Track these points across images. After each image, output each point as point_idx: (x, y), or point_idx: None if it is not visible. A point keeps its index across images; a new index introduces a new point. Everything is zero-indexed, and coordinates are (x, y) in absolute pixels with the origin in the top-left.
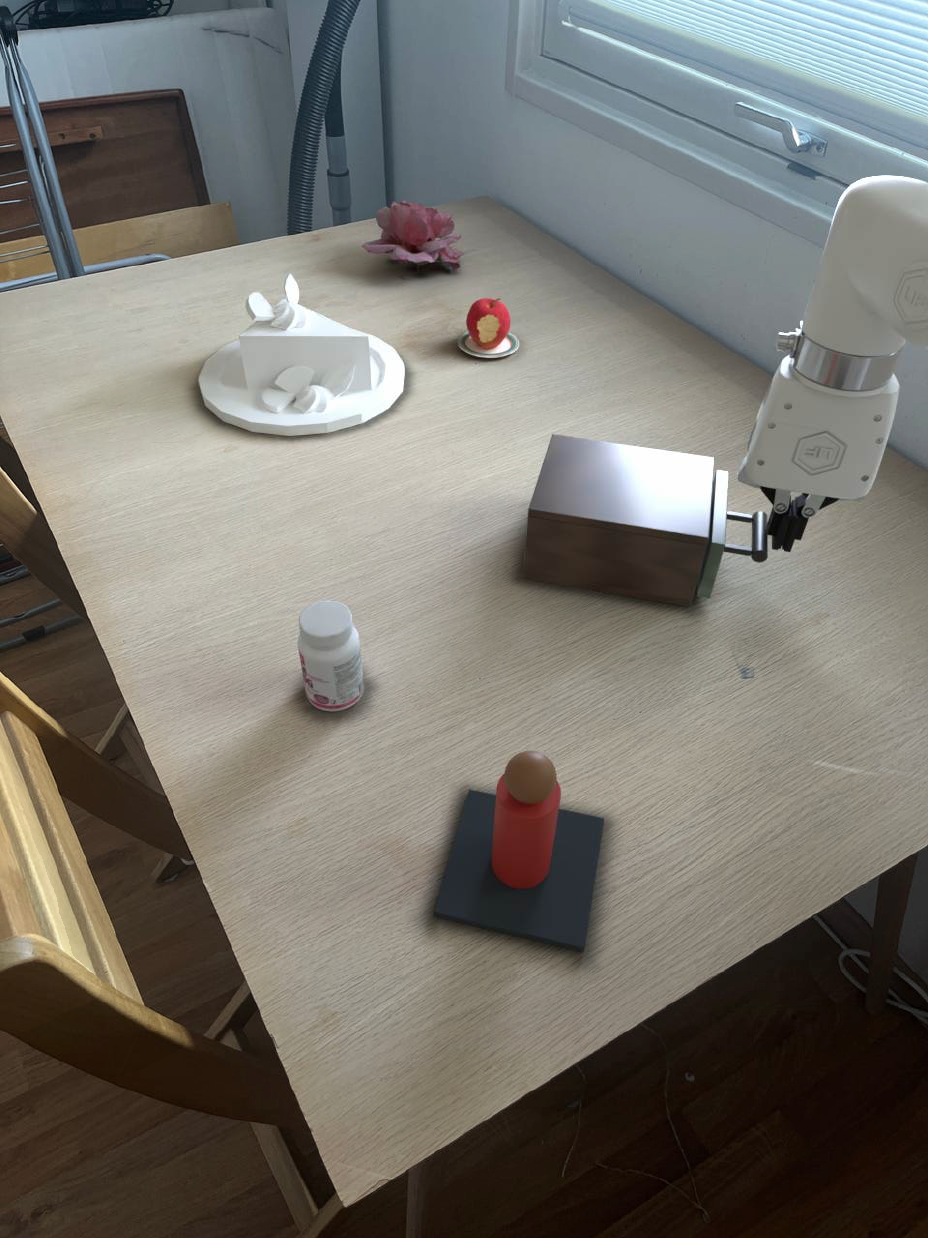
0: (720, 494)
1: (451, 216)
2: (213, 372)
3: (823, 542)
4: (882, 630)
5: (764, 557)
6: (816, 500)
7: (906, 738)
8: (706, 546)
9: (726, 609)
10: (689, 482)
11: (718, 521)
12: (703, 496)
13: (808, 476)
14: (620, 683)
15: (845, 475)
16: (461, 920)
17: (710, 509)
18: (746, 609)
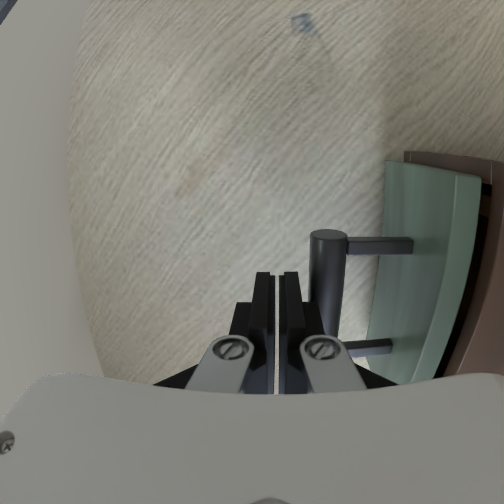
0: (428, 368)
1: None
2: None
3: (198, 355)
4: (104, 187)
5: (317, 234)
6: (211, 382)
7: (95, 10)
8: (489, 160)
9: (347, 158)
10: (490, 365)
11: (460, 271)
12: (485, 334)
13: (286, 488)
14: (450, 5)
15: (63, 479)
16: None
17: (488, 291)
18: (314, 166)
